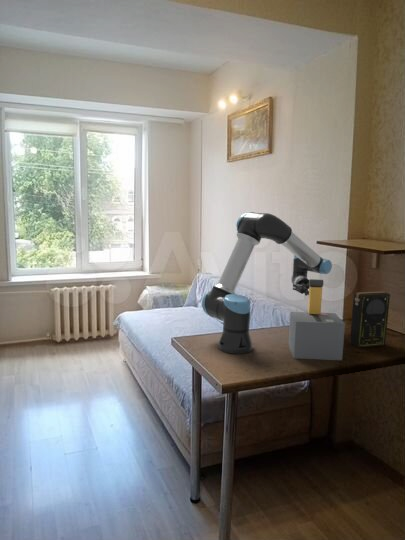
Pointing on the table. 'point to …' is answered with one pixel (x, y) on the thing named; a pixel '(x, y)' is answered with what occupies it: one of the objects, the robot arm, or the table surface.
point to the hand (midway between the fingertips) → (312, 294)
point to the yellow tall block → (315, 296)
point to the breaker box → (316, 336)
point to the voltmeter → (369, 319)
